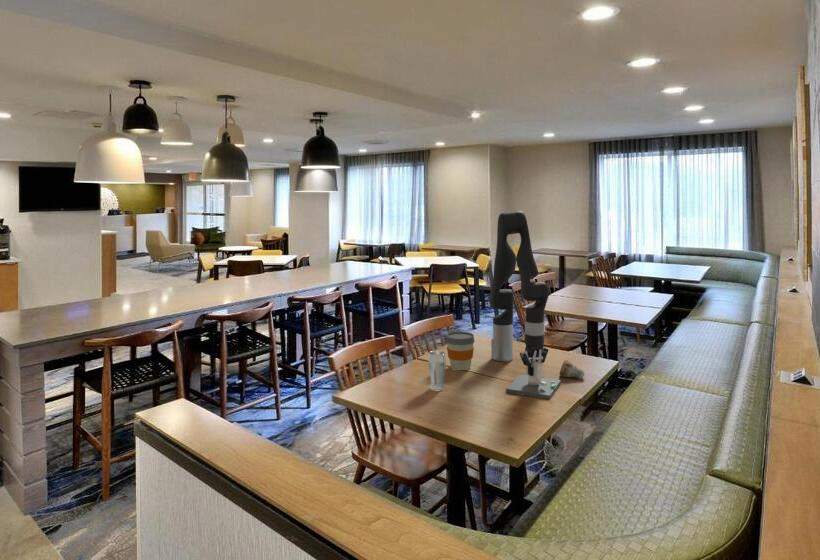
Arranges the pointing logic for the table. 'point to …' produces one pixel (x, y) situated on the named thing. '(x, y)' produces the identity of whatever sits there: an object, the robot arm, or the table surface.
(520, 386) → the dial board
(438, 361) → the beer glass
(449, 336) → the reusable coffee cup
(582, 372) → the mug
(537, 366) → the peg knob
